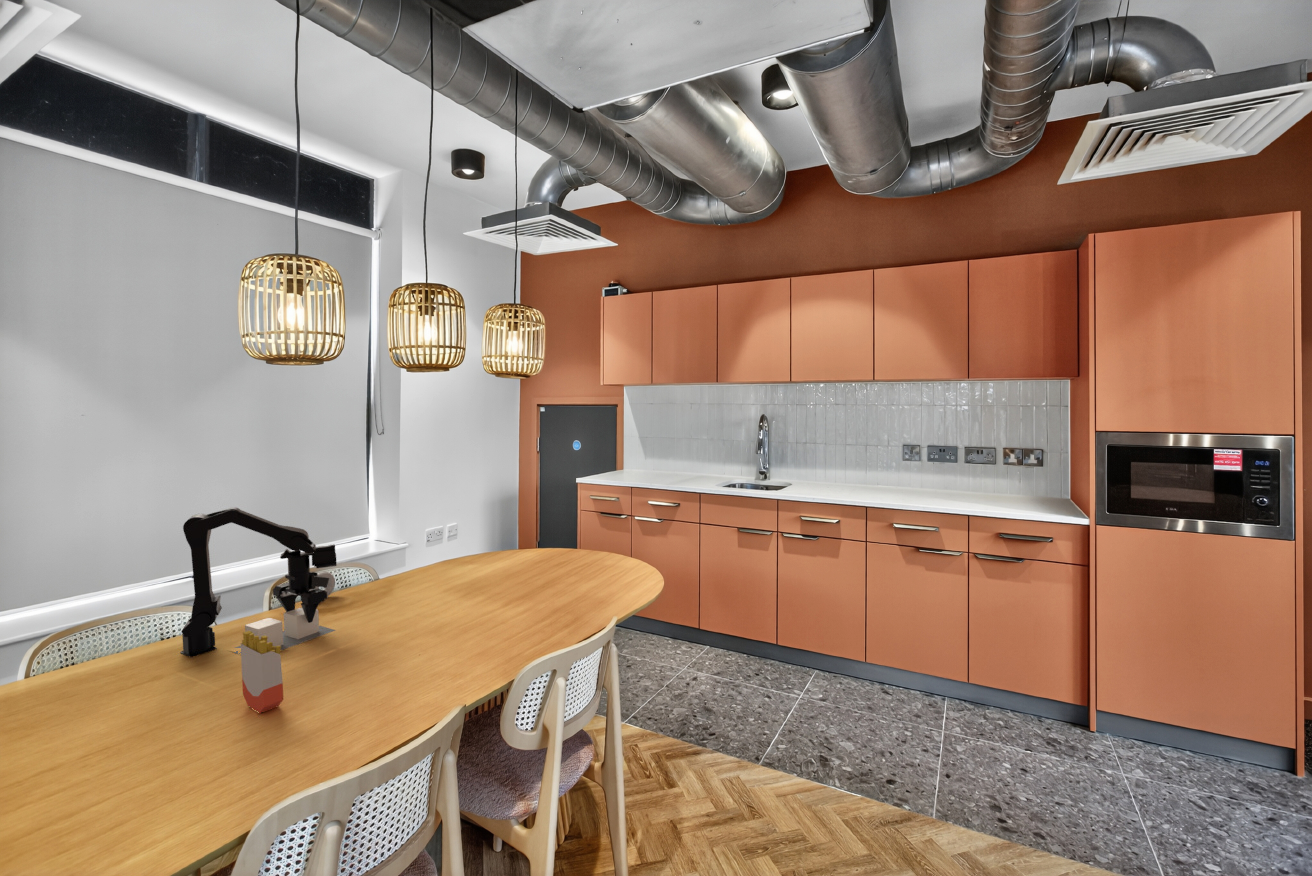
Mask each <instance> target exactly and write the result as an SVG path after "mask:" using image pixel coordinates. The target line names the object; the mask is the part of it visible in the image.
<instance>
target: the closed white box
mask: <svg viewBox="0 0 1312 876" xmlns="http://www.w3.org/2000/svg"><path fill="white" fill-rule="evenodd" d="M319 620H320V617H319V609H318V608H317V609H316V612H315V615H314V618H313V621H312V622H311V623H308V621H307V619H306V617H305V614H304V611H303V609H302V606H301V607H298V608H295V610H292V611H288V612H286V611H285V612H283V628H284V629H283V631H284V633H285V636H289V637H292V638H295V639H300V638H303V637H305V636H308V635H311V634H314V633H316V632H319V625H320V621H319Z"/></svg>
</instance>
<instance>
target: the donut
mask: <svg viewBox="0 0 1312 876" xmlns="http://www.w3.org/2000/svg"><path fill="white" fill-rule="evenodd" d="M317 574H318V576H323V577H327V578H329V581H328V585H327V588H323V587H322V589H321V590H325V591H326V592H327V598H328V597H329V596H330V595H332V593H333V592H334V590H335V587H336V579H335V577H334V575H333V574H332V573H331V572H328V571H320V572H317ZM315 587H316V586H315ZM315 589H320V587H316V588H315ZM315 589H310V591H311V590H315Z"/></svg>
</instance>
